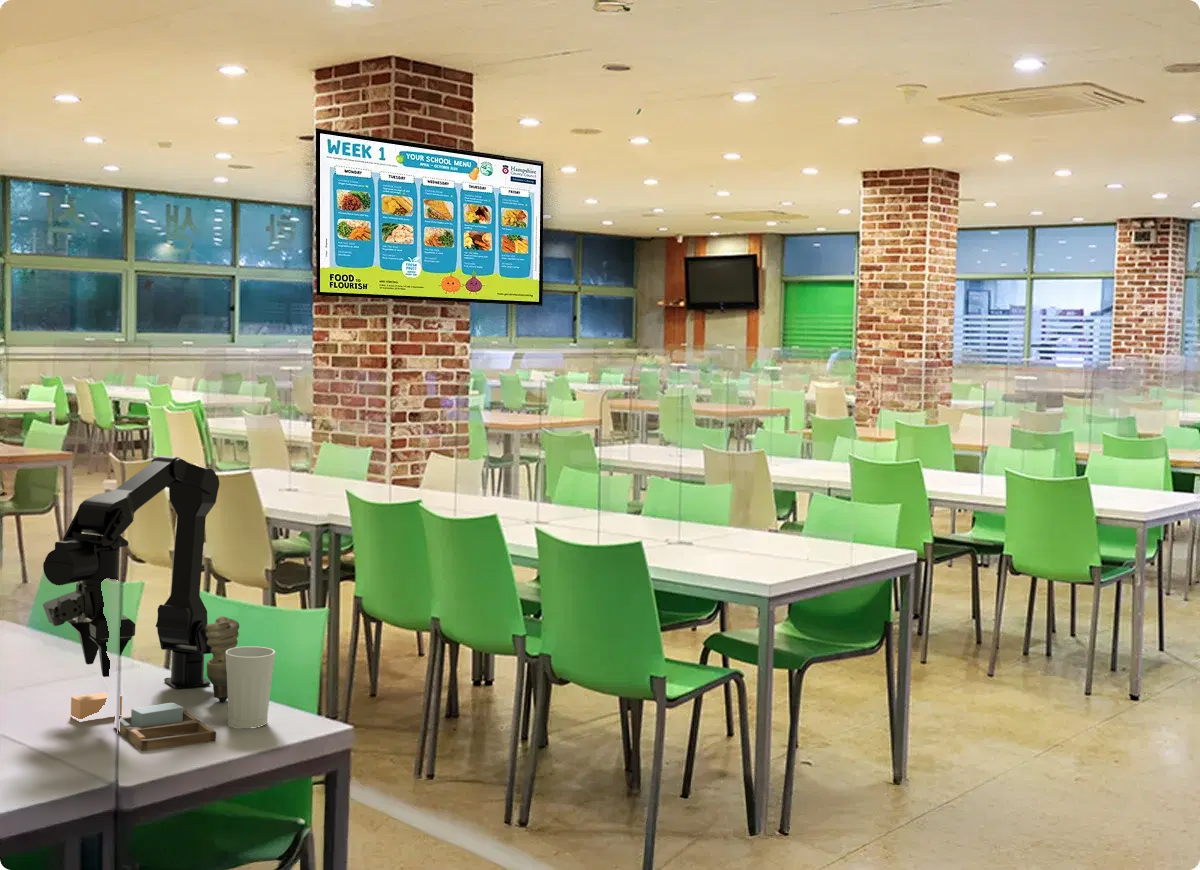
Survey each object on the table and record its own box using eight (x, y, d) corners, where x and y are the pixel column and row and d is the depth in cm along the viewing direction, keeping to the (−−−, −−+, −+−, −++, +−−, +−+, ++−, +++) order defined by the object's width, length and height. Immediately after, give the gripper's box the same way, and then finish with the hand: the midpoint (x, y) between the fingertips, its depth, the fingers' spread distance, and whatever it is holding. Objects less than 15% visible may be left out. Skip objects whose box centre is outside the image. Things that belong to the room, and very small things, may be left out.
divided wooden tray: (113, 727, 216) (114, 716, 216) (185, 719, 223) (185, 708, 223) (141, 750, 205) (142, 739, 205) (215, 741, 212) (216, 729, 212)
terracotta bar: (70, 718, 221) (71, 696, 220) (112, 712, 226) (112, 691, 225) (79, 723, 218) (80, 701, 218) (121, 717, 223) (122, 695, 223)
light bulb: (219, 707, 231) (222, 621, 230) (196, 701, 234) (199, 616, 233) (243, 701, 236) (246, 616, 235) (220, 695, 239) (223, 611, 238)
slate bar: (130, 730, 216) (131, 708, 216) (171, 724, 221) (172, 702, 220) (141, 736, 213) (141, 713, 213) (182, 729, 218) (183, 707, 218)
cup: (259, 732, 218) (262, 659, 217) (213, 726, 220) (216, 654, 219) (280, 719, 226) (283, 649, 225) (236, 714, 228) (239, 644, 227)
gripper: (33, 569, 223) (31, 662, 224) (65, 589, 208) (62, 688, 209) (102, 566, 230) (99, 656, 231) (137, 585, 215) (134, 681, 216)
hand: (97, 670), depth 221 cm, fingers open, 9 cm apart
